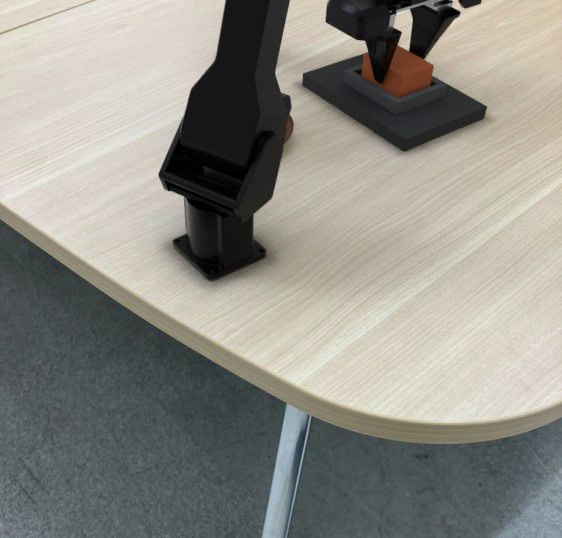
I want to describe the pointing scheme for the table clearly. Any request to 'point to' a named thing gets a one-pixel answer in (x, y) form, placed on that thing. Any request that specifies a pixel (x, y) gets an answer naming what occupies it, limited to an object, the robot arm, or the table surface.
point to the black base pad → (394, 104)
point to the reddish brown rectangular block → (402, 73)
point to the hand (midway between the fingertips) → (395, 75)
